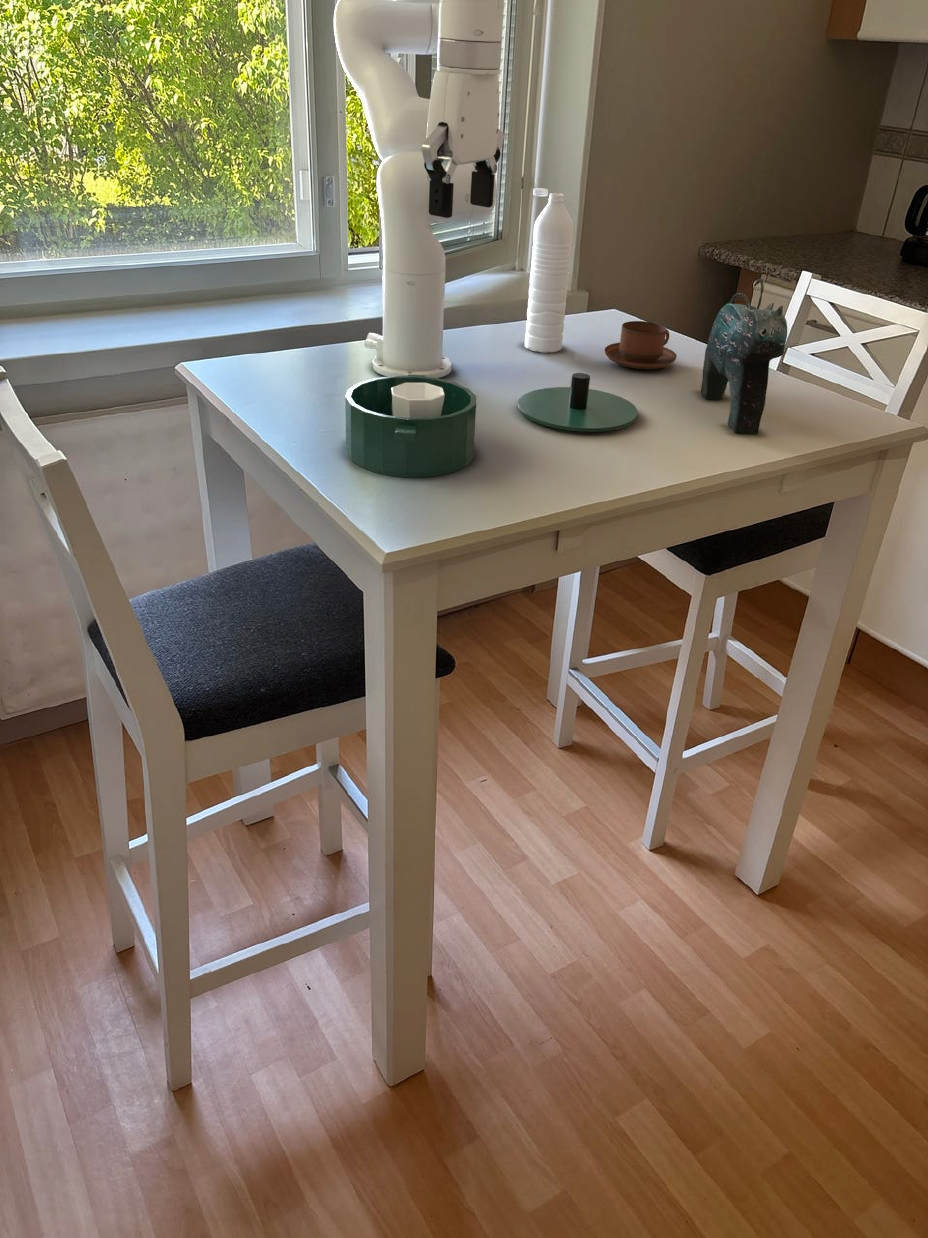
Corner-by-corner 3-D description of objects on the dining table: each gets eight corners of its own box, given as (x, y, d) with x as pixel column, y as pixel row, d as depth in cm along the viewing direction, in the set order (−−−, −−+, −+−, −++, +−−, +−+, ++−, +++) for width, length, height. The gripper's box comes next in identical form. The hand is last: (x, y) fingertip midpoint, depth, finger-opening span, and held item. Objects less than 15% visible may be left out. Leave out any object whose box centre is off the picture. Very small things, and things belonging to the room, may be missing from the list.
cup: (404, 465, 122) (405, 403, 118) (370, 437, 130) (370, 378, 125) (453, 456, 125) (456, 395, 121) (417, 430, 133) (418, 372, 128)
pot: (336, 482, 118) (335, 423, 114) (356, 419, 137) (356, 366, 133) (472, 489, 118) (475, 430, 114) (474, 425, 137) (477, 372, 133)
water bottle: (569, 350, 170) (585, 195, 157) (539, 355, 167) (553, 197, 153) (538, 337, 176) (551, 186, 163) (509, 341, 173) (520, 188, 160)
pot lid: (519, 432, 135) (522, 392, 132) (515, 391, 150) (518, 354, 147) (644, 438, 136) (650, 399, 133) (628, 396, 150) (633, 360, 147)
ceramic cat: (769, 439, 138) (801, 293, 127) (724, 438, 137) (753, 292, 127) (725, 392, 154) (751, 260, 144) (686, 391, 154) (708, 258, 143)
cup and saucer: (624, 348, 172) (628, 313, 169) (686, 363, 167) (692, 327, 163) (590, 363, 164) (594, 326, 161) (655, 379, 158) (661, 341, 155)
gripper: (480, 53, 124) (472, 197, 134) (401, 56, 112) (398, 215, 121) (531, 58, 121) (519, 206, 130) (456, 62, 109) (448, 225, 118)
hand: (461, 210), depth 126 cm, fingers open, 9 cm apart
